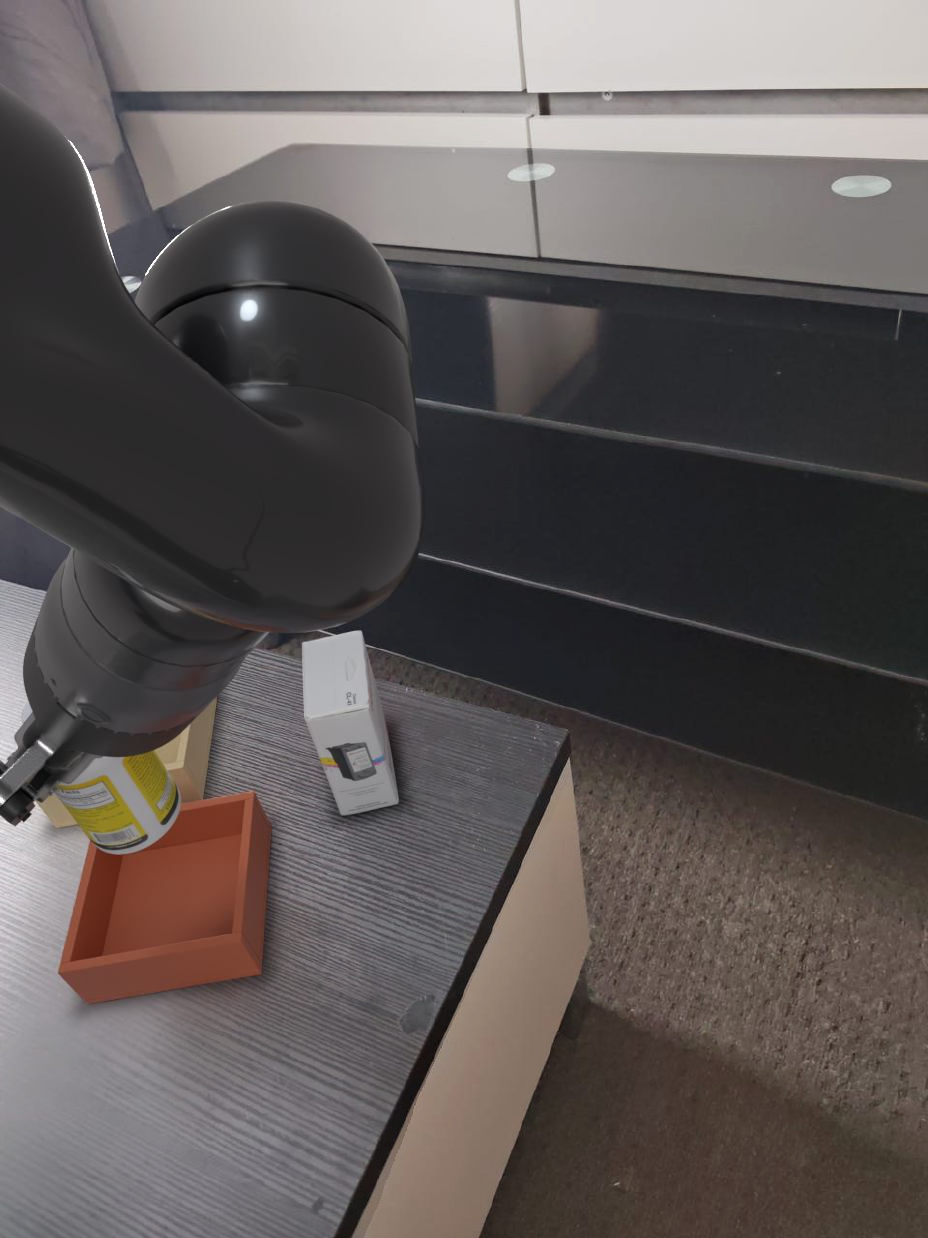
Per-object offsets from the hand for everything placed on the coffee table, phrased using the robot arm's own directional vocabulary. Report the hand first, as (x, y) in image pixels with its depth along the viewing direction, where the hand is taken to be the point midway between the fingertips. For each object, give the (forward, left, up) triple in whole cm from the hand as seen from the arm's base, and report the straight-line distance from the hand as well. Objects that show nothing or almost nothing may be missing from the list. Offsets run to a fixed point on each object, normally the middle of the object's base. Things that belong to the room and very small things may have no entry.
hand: (72, 744), depth 50 cm
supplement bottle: (-1, -2, -6) cm, 6 cm away
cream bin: (+20, +9, -23) cm, 32 cm away
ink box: (+14, -11, -23) cm, 29 cm away
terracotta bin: (+4, +3, -23) cm, 24 cm away
